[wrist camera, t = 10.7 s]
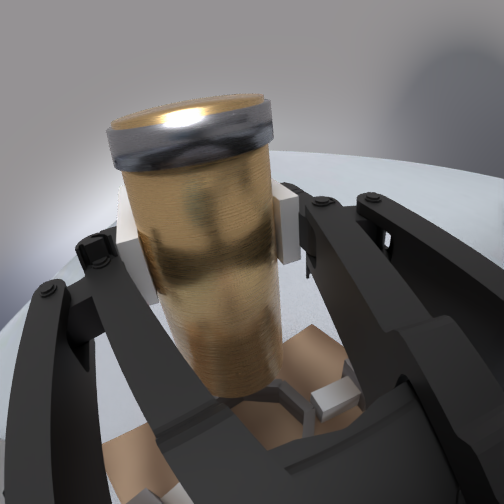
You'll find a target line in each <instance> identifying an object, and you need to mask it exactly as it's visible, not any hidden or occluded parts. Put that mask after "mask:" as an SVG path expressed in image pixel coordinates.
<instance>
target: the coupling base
mask: <svg viewBox="0 0 504 504" xmlns="http://www.w3.org/2000/svg"><path fill="white" fill-rule="evenodd" d="M213 397H214V398H215V399H216V400H217V401H218V402H219V403H220V404H221V403H224V404H225V405H227V406H228V407H229V408H230V409H231V410H232V411H233V412H234V414H235V415H236V416H237V417H238V418H239V419H240V421H241V422H242V423H243V424H244V425H245V426H246V427H247V429H248V430H249V431H250V432H251V433H252V434H253V435H254V437H255V438H256V439H257V440H258V441H259V442H260V443H261V444H262V445H263V447H264V448H265V449H266V450H267V451H268V450H271V449H273V448H276V447H278V446H281V445H283V444H286V443H288V442H290V441H293V440H295V439H301V438H306V437H311V436H316V435H320V434H325V433H329V432H333V431H337V430H341V429H344V428H346V427H348V426H349V425H350V424H351V423H352V422H353V421H355V420H356V419H357V418H358V417H359V416H360V415H361V414H362V413H363V412H364V411H365V410H366V402H365V397H364V394H363V392H362V389H361V387H360V384H359V382H358V379H357V377H356V375H355V372H354V370H353V367H352V365H351V363H350V360H349V358H348V355H347V353H346V351H345V348H344V347H343V346H342V345H340V344H339V343H338V342H336V341H335V340H334V339H332V338H331V337H329V336H328V335H327V334H325V333H324V332H322V331H321V330H320V329H318V328H317V327H316V326H314V325H313V324H311V325H310V326H308V327H307V328H305V329H304V330H302V331H301V332H299V333H298V334H296V335H295V336H293V337H292V338H290V339H289V340H287V341H286V342H284V343H283V363H282V366H281V369H280V371H279V373H278V375H277V376H276V377H275V379H274V380H273V381H272V382H271V383H270V384H269V385H267V386H266V387H265V388H263V389H262V390H260V391H258V392H256V393H254V394H251V395H248V396H244V397H238V398H222V397H217V396H213ZM155 439H156V437H155V435H154V433H153V431H152V429H151V428H150V426H149V424H148V422H147V423H145V424H143V425H141V426H139V427H137V428H135V429H133V430H131V431H129V432H127V433H125V434H123V435H121V436H118V437H116V438H114V439H112V440H110V441H108V442H106V443H103V444H102V450H103V457H104V464H105V470H106V473H107V475H108V477H109V480H110V482H111V484H112V486H113V488H114V490H115V492H116V494H117V496H118V498H119V500H120V502H121V504H194V503H193V502H192V500H191V499H190V497H189V496H188V494H187V493H186V491H185V490H184V488H183V487H182V485H181V484H180V482H179V481H178V479H177V478H176V476H175V474H174V473H173V471H172V470H171V468H170V466H169V465H168V463H167V462H166V460H165V458H164V457H163V455H162V453H161V451H160V450H159V448H158V446H157V444H156V441H155Z"/></svg>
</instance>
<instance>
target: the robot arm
mask: <svg viewBox="0 0 504 504" xmlns="http://www.w3.org/2000/svg"><path fill="white" fill-rule="evenodd" d="M271 182H272V195H273V207H274V220H275V234H276V248H277V258H278V259H279V260H280V261H281V262H282V264H283V265H285V264H288V263H291V262H294V261H298V260H301V251H300V246H301V247H302V248H303V249H304V250H305V251H306V278H307V279H308V278H309V274H310V273H311V274H312V276H313V278H314V280H315V283H316V285H317V287H318V289H319V291H320V294H321V296H322V298H323V300H324V303H325V305H326V307H327V309H328V312H329V314H330V316H331V318H332V321H333V323H334V325H335V328H336V330H337V332H338V334H339V337H340V339H341V341H342V344H343V346H344V348H345V351H346V353H347V355H348V358H349V360H350V363H351V365H352V367H353V370H354V372H355V375H356V377H357V379H358V382H359V384H360V387H361V389H362V392H363V394H364V397H365V402H366V410H365V411H364V412H363V413H362V414H361V415H360V416H359V417H358V418H357V419H356V420H355V421H353V422H352V423H351V424H350V425H349V426H348V427H346V428H344V429H341V430H337V431H333V432H329V433H325V434H320V435H316V436H311V437H306V438H301V439H295V440H293V441H290V442H288V443H286V444H283V445H281V446H278V447H276V448H273V449H271V450H268V451H267V450H266V449H265V448H264V447H263V445H262V444H261V443H260V442H259V441H258V440H257V439H256V438H255V437H254V435H253V434H252V433H251V432H250V431H249V430H248V429H247V427H246V426H245V425H244V424H243V423H242V422H241V421H240V419H239V418H238V417H237V416H236V415H235V414H234V412H233V411H232V410H231V409H230V408H229V407H228V406H227V405H225V404H224V403H221V404H220V403H219V402H218V401H217V400H216V399H215V398H214V397H213V395H212V394H211V393H210V392H209V390H208V389H207V388H206V386H205V385H204V384H203V382H202V381H201V380H200V379H199V377H198V376H197V375H196V373H195V372H194V370H193V369H192V368H191V366H190V365H189V364H188V362H187V361H186V360H185V358H184V357H183V355H182V354H181V353H180V351H179V350H178V348H177V347H176V346H175V344H174V343H173V341H172V340H171V338H170V337H169V335H168V334H167V333H166V331H165V330H164V328H163V327H162V325H161V324H160V322H159V321H158V319H157V318H156V316H155V315H154V313H153V312H152V310H151V309H150V307H149V305H153V304H156V303H159V299H158V294H157V290H156V287H155V284H154V281H153V278H152V275H151V272H150V269H149V266H148V263H147V260H146V257H145V253H144V250H143V247H142V244H141V240H140V237H139V234H138V230H137V227H136V224H135V221H134V217H133V214H132V210H131V206H130V203H129V199H128V195H127V191H126V187H125V185H124V186H120V187H119V195H118V211H117V226H115V227H112V228H108V229H105V230H102V231H100V233H95V234H92V235H90V236H88V237H86V238H84V239H82V240H81V241H80V242H79V243H78V244H77V245H76V247H75V251H76V253H77V256H78V258H79V261H80V263H81V266H82V268H83V270H84V273H85V277H83V278H82V279H81V280H79V281H77V282H76V283H74V284H72V285H70V286H68V287H67V286H66V284H65V282H64V281H63V280H62V279H54V280H50V281H47V282H45V283H43V284H41V285H40V286H39V288H38V289H37V290H36V291H35V292H34V294H33V296H32V299H31V303H30V306H29V310H28V313H27V317H26V321H25V324H24V328H23V332H22V337H21V341H20V345H19V350H18V354H17V359H16V364H15V369H14V375H13V381H12V387H11V393H10V400H9V408H8V417H7V426H6V439H5V458H4V496H5V504H112V502H111V497H110V492H109V487H108V481H107V476H106V470H105V464H104V457H103V450H102V442H101V434H100V425H99V415H98V403H97V388H96V366H95V341H94V338H95V337H97V336H99V335H101V334H102V333H104V332H106V335H107V337H108V340H109V342H110V344H111V347H112V349H113V352H114V354H115V356H116V359H117V361H118V363H119V365H120V368H121V370H122V372H123V374H124V376H125V378H126V381H127V383H128V385H129V387H130V389H131V391H132V393H133V395H134V397H135V399H136V401H137V403H138V405H139V407H140V409H141V411H142V413H143V415H144V417H145V418H146V420H147V422H148V424H149V426H150V428H151V429H152V431H153V433H154V435H155V437H156V439H155V441H156V444H157V446H158V448H159V450H160V451H161V453H162V455H163V457H164V458H165V460H166V462H167V463H168V465H169V466H170V468H171V470H172V471H173V473H174V474H175V476H176V478H177V479H178V481H179V482H180V484H181V485H182V487H183V488H184V490H185V491H186V493H187V494H188V496H189V497H190V499H191V500H192V502H193V503H194V504H504V270H503V269H502V268H500V267H499V266H497V265H496V264H495V263H493V262H492V261H490V260H489V259H487V258H486V257H484V256H483V255H482V254H480V253H479V252H477V251H476V250H474V249H473V248H471V247H470V246H468V245H466V244H465V243H463V242H462V241H460V240H459V239H457V238H456V237H454V236H452V235H451V234H449V233H448V232H446V231H444V230H443V229H441V228H440V227H438V226H436V225H435V224H433V223H431V222H430V221H428V220H426V219H425V218H423V217H421V216H419V215H418V214H416V213H414V212H412V211H411V210H409V209H407V208H405V207H404V206H402V205H400V204H398V203H397V202H395V201H393V200H391V199H389V198H387V197H386V196H383V195H381V194H377V193H375V192H372V193H371V192H367V193H363V194H360V195H358V196H357V205H356V206H345V207H343V206H342V205H341V204H340V203H339V202H338V201H337V200H336V199H334V198H331V197H325V196H319V197H313V196H311V195H309V194H308V193H306V192H304V191H303V190H302V189H300V188H298V187H297V186H295V185H293V184H290V183H286V182H284V183H279V182H277V181H276V180H274V179H272V178H271ZM386 232H388V233H389V234H390V235H391V240H390V246H389V247H387V246H386V245H384V243H385V235H386Z"/></svg>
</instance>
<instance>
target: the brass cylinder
mask: <svg viewBox="0 0 504 504" xmlns="http://www.w3.org/2000/svg"><path fill="white" fill-rule="evenodd" d="M111 126H112V127H110V128H108V129H107V130H106V133H107V137H108V142H109V147H110V151H111V155H112V160H113V164H114V167H115V168H116V169H118V170H120V171H122V175H123V179H124V183H125V187H126V191H127V195H128V199H129V203H130V206H131V210H132V214H133V217H134V221H135V224H136V227H137V230H138V234H139V237H140V240H141V244H142V247H143V250H144V253H145V257H146V260H147V263H148V266H149V269H150V272H151V275H152V278H153V281H154V284H155V287H156V290H157V294H158V297H159V300H160V303H161V305H162V308H163V311H164V314H165V316H166V319H167V322H168V325H169V327H170V330H171V333H172V335H173V338H174V340H175V343H176V346H177V348H178V350H179V351H180V353H181V354H182V355H183V357H184V358H185V360H186V361H187V362H188V364H189V365H190V366H191V368H192V369H193V370H194V372H195V373H196V375H197V376H198V377H199V379H200V380H201V381H202V382H203V384H204V385H205V386H206V388H207V389H208V390H209V392H210V393H211V394H212V395H213V396H217V397H222V398H238V397H244V396H248V395H251V394H254V393H256V392H258V391H260V390H262V389H263V388H265V387H266V386H267V385H269V384H270V383H271V382H272V381H273V380H274V379H275V377H276V376H277V375H278V373H279V371H280V369H281V366H282V363H283V344H282V326H281V309H280V292H279V277H278V262H277V248H276V234H275V220H274V207H273V195H272V182H271V170H270V159H269V149H268V143H269V142H271V141H272V140H273V138H274V136H273V124H272V113H271V102H270V100H268V99H264V95H262V94H234V95H224V96H214V97H206V98H200V99H193V100H188V101H182V102H177V103H172V104H167V105H163V106H158V107H154V108H151V109H147V110H143V111H140V112H136V113H133V114H130V115H127V116H124V117H121V118H119V119H116V120H114V121H112V122H111Z"/></svg>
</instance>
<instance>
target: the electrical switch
mask: <svg viewBox="0 0 504 504" xmlns="http://www.w3.org/2000/svg"><path fill="white" fill-rule="evenodd" d="M4 458H5V441H4V440H2V439H0V504H5V496H4Z"/></svg>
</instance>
